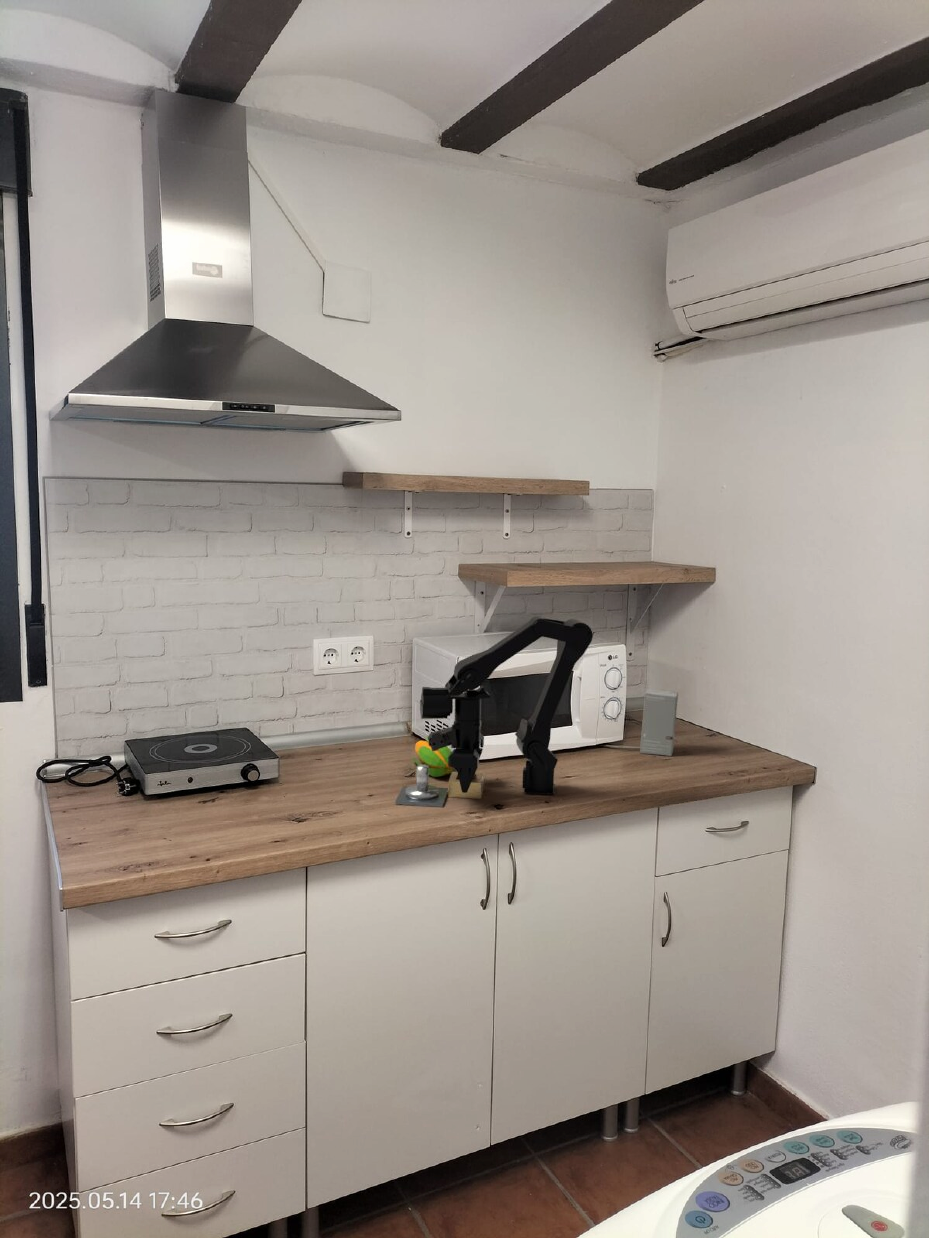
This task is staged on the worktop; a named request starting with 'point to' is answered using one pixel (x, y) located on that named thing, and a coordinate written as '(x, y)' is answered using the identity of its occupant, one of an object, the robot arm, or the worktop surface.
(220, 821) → the worktop surface
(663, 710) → the skincare box
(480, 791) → the collar
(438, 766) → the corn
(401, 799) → the post
